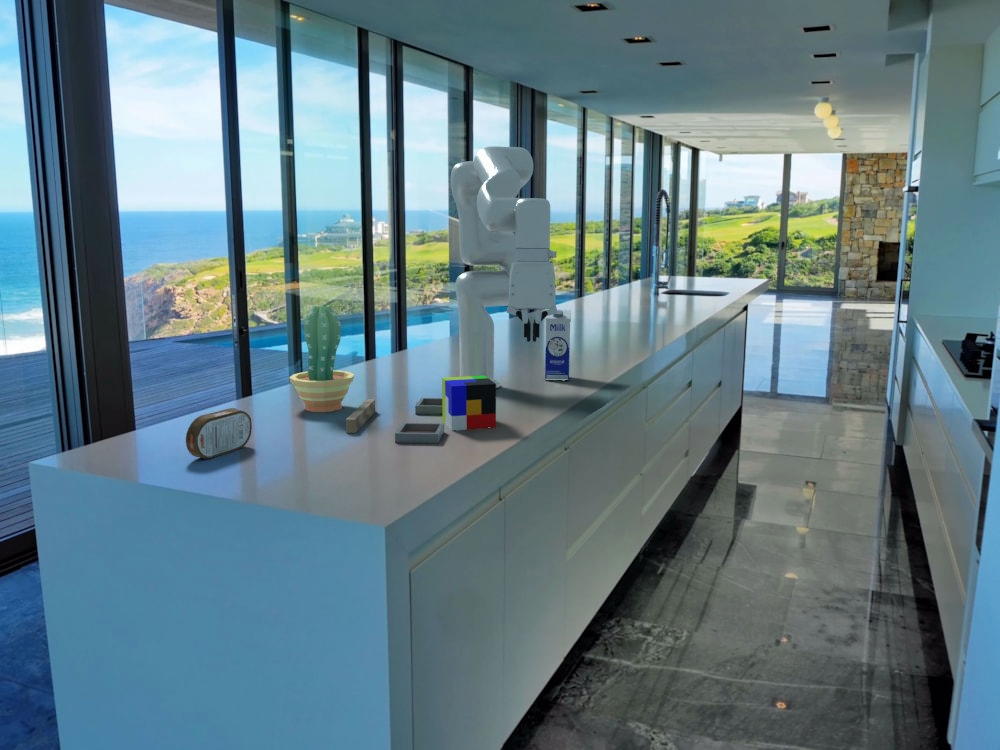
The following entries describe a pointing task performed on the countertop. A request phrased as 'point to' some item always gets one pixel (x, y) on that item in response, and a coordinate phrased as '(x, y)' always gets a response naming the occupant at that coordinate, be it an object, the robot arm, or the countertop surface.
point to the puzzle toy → (468, 402)
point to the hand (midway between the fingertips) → (531, 340)
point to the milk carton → (557, 345)
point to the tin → (218, 433)
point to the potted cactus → (322, 363)
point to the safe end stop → (360, 416)
